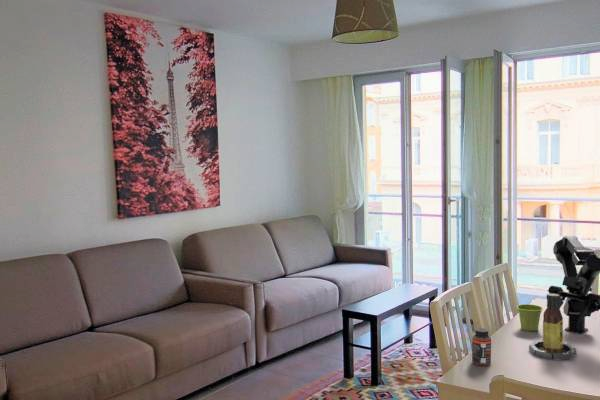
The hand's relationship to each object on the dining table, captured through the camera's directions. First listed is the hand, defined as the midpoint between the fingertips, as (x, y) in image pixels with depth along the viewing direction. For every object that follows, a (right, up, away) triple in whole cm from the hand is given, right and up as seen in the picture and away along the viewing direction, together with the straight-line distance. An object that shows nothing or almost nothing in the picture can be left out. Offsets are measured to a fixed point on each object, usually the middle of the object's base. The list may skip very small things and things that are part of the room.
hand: (565, 316), depth 204 cm
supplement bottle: (-33, -13, -12) cm, 38 cm away
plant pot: (-4, -9, +22) cm, 25 cm away
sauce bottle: (-6, -11, -4) cm, 13 cm away
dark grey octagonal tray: (-6, -12, -4) cm, 14 cm away
